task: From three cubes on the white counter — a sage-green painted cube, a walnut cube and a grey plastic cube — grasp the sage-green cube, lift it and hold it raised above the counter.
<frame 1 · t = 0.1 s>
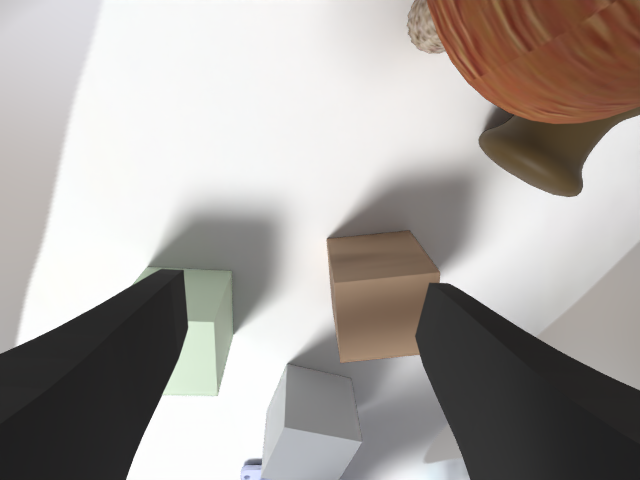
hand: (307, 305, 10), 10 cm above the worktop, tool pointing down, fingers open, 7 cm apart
mushroom: (434, 9, 16), on the worktop
sage cube: (193, 302, 22), on the worktop
grey cube: (308, 393, 26), on the worktop
walnut cube: (368, 270, 22), on the worktop
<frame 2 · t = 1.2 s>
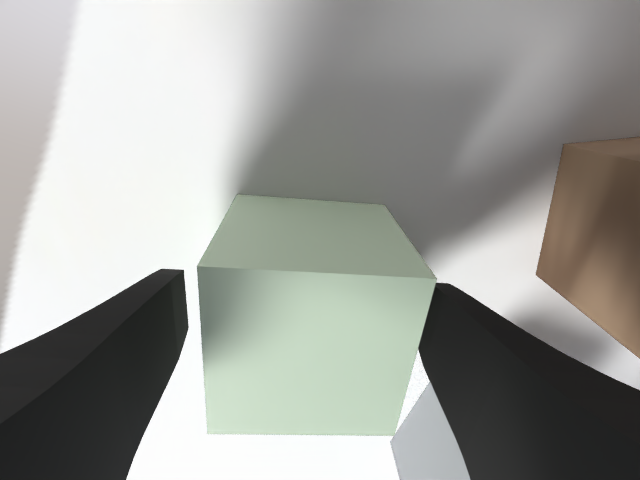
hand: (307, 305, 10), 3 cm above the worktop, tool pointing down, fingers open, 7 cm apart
sage cube: (306, 263, 13), on the worktop
grey cube: (457, 416, 17), on the worktop
walnut cube: (614, 207, 12), on the worktop
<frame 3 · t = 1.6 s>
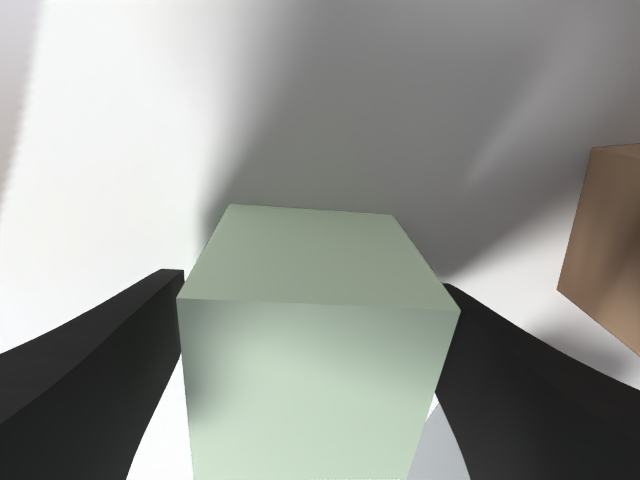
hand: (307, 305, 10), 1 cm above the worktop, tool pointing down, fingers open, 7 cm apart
sage cube: (306, 278, 12), on the worktop
grey cube: (467, 437, 16), on the worktop
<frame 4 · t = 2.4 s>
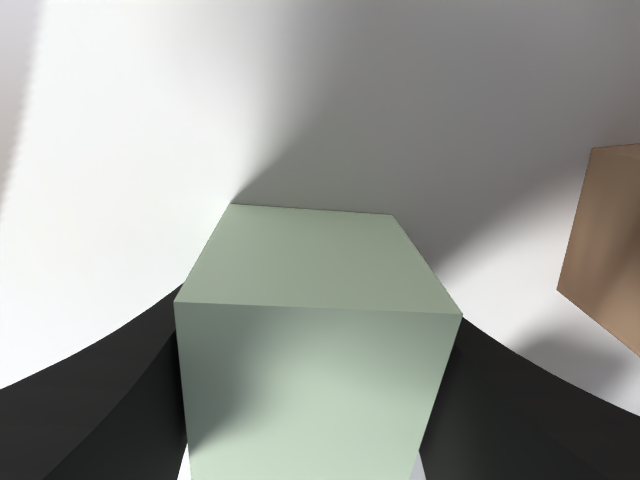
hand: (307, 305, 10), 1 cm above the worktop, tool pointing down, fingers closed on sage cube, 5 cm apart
sage cube: (306, 279, 11), on the worktop, touching gripper
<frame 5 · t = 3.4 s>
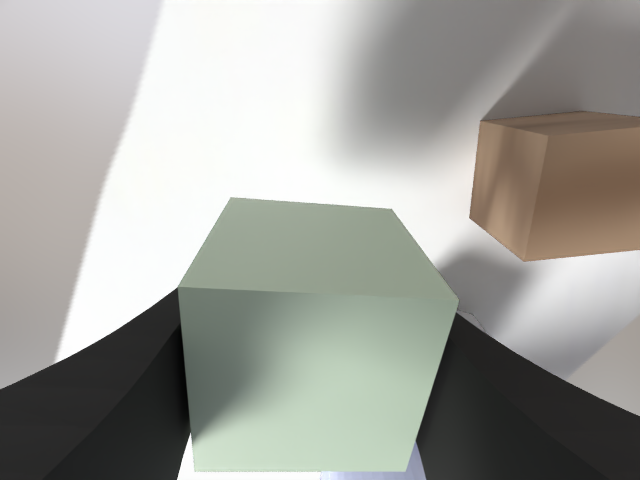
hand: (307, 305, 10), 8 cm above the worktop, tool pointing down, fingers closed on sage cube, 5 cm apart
sage cube: (306, 273, 12), point 7 cm above the worktop, touching gripper
walnut cube: (521, 167, 17), on the worktop
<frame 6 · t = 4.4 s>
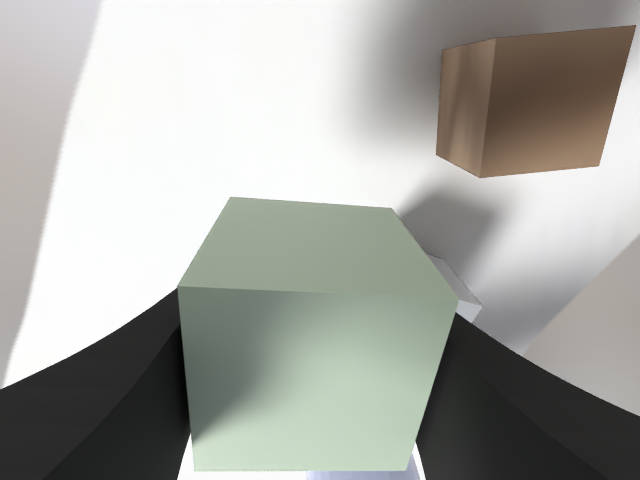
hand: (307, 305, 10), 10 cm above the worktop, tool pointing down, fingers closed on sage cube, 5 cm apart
sage cube: (306, 272, 12), point 8 cm above the worktop, touching gripper
grey cube: (391, 280, 22), on the worktop
walnut cube: (486, 100, 18), on the worktop
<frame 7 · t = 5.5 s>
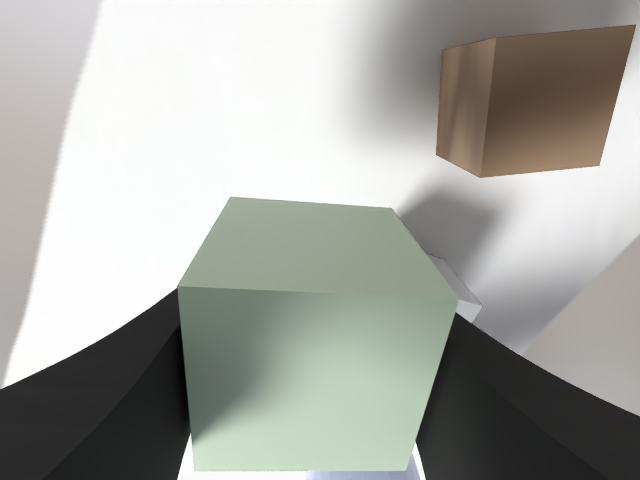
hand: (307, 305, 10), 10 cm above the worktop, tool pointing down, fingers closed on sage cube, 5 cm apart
sage cube: (306, 272, 12), point 8 cm above the worktop, touching gripper
grey cube: (391, 280, 22), on the worktop
walnut cube: (486, 100, 18), on the worktop
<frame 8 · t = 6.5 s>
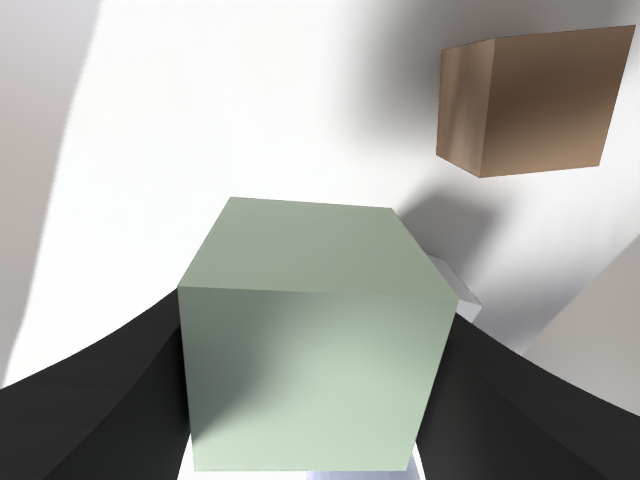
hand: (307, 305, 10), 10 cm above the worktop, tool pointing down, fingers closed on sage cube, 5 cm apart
sage cube: (306, 272, 12), point 8 cm above the worktop, touching gripper
grey cube: (391, 280, 22), on the worktop
walnut cube: (486, 100, 18), on the worktop
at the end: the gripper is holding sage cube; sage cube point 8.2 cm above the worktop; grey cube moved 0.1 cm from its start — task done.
